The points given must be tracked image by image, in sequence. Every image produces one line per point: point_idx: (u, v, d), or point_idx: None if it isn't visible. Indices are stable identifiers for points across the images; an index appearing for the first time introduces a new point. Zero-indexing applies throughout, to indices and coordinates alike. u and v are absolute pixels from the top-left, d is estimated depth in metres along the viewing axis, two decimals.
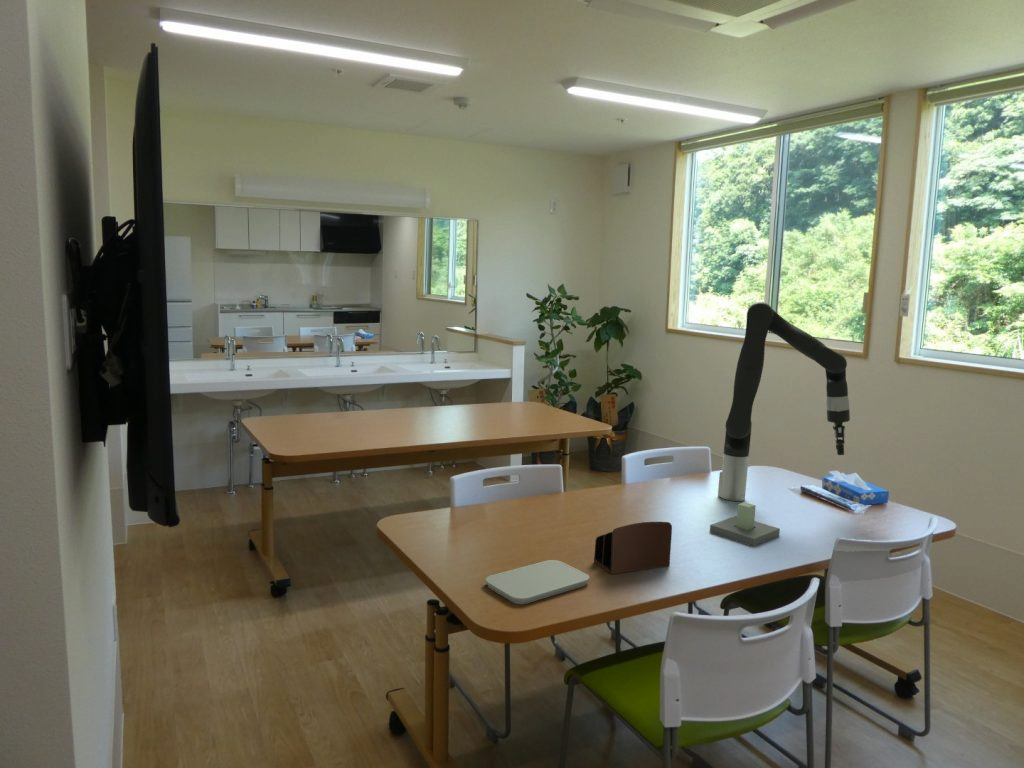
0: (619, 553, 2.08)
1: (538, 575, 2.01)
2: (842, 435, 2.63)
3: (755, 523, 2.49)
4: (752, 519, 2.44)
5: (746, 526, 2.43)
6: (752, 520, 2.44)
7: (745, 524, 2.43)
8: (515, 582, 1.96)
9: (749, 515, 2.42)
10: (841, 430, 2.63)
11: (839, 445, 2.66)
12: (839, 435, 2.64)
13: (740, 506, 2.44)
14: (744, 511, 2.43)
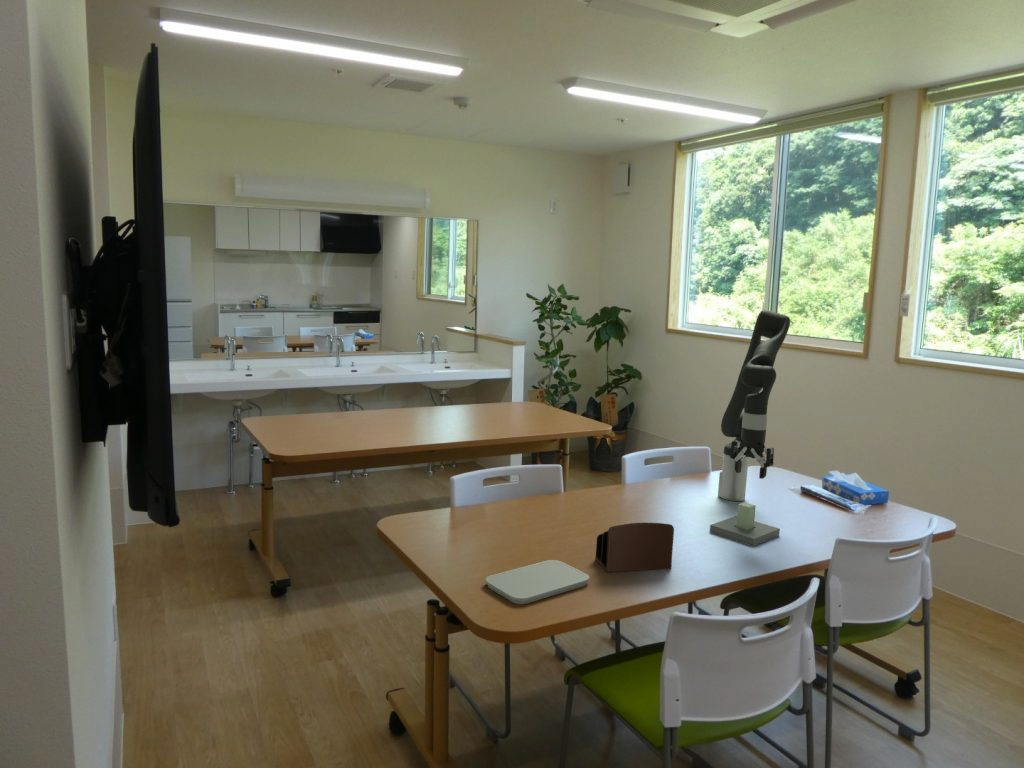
0: (615, 551, 2.09)
1: (538, 575, 2.01)
2: None
3: (755, 523, 2.49)
4: (752, 519, 2.44)
5: (746, 526, 2.43)
6: (752, 520, 2.44)
7: (745, 524, 2.43)
8: (515, 582, 1.96)
9: (749, 515, 2.42)
10: None
11: None
12: None
13: (740, 506, 2.44)
14: (744, 511, 2.43)
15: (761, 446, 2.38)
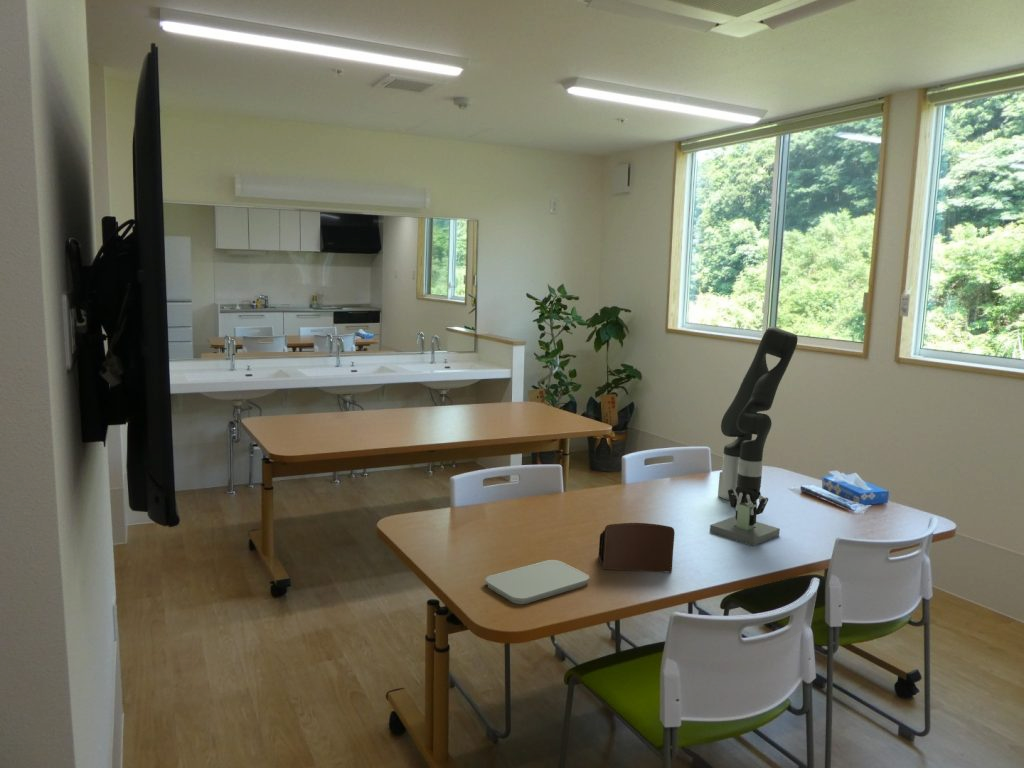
0: (612, 549, 2.11)
1: (538, 575, 2.01)
2: None
3: (755, 523, 2.49)
4: None
5: (746, 526, 2.43)
6: None
7: (745, 524, 2.43)
8: (515, 582, 1.96)
9: (749, 515, 2.42)
10: None
11: None
12: None
13: (740, 506, 2.44)
14: (744, 511, 2.43)
15: (757, 493, 2.40)
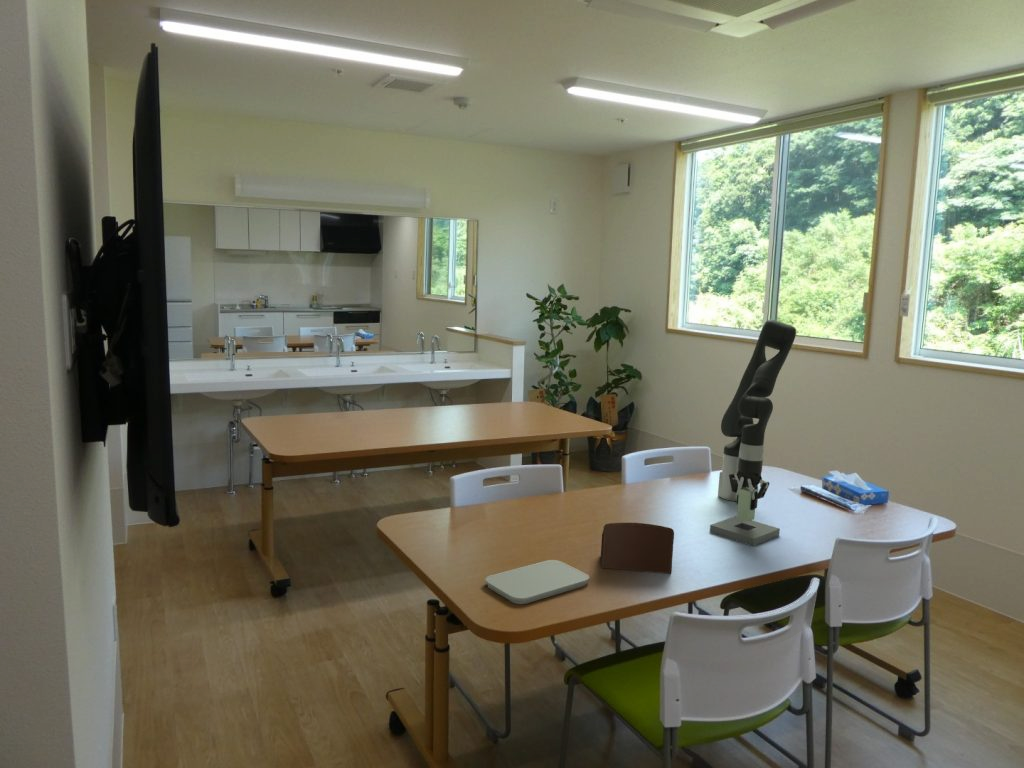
0: (610, 548, 2.11)
1: (538, 575, 2.01)
2: None
3: (755, 523, 2.49)
4: None
5: (748, 511, 2.42)
6: None
7: (747, 509, 2.42)
8: (515, 582, 1.96)
9: (750, 499, 2.42)
10: None
11: None
12: None
13: (741, 490, 2.43)
14: (745, 495, 2.42)
15: (758, 478, 2.40)
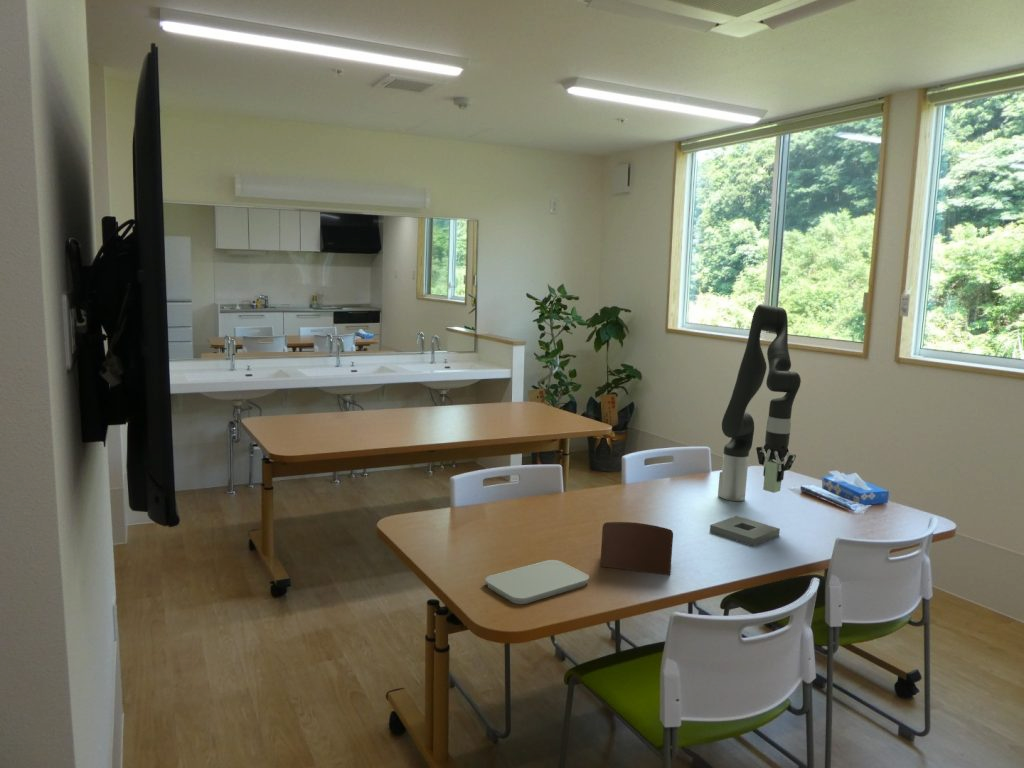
0: (609, 547, 2.12)
1: (538, 575, 2.01)
2: None
3: (755, 523, 2.49)
4: None
5: (774, 482, 2.49)
6: None
7: (773, 480, 2.49)
8: (515, 582, 1.96)
9: (776, 471, 2.48)
10: None
11: None
12: None
13: (768, 462, 2.50)
14: (771, 467, 2.49)
15: (785, 450, 2.46)
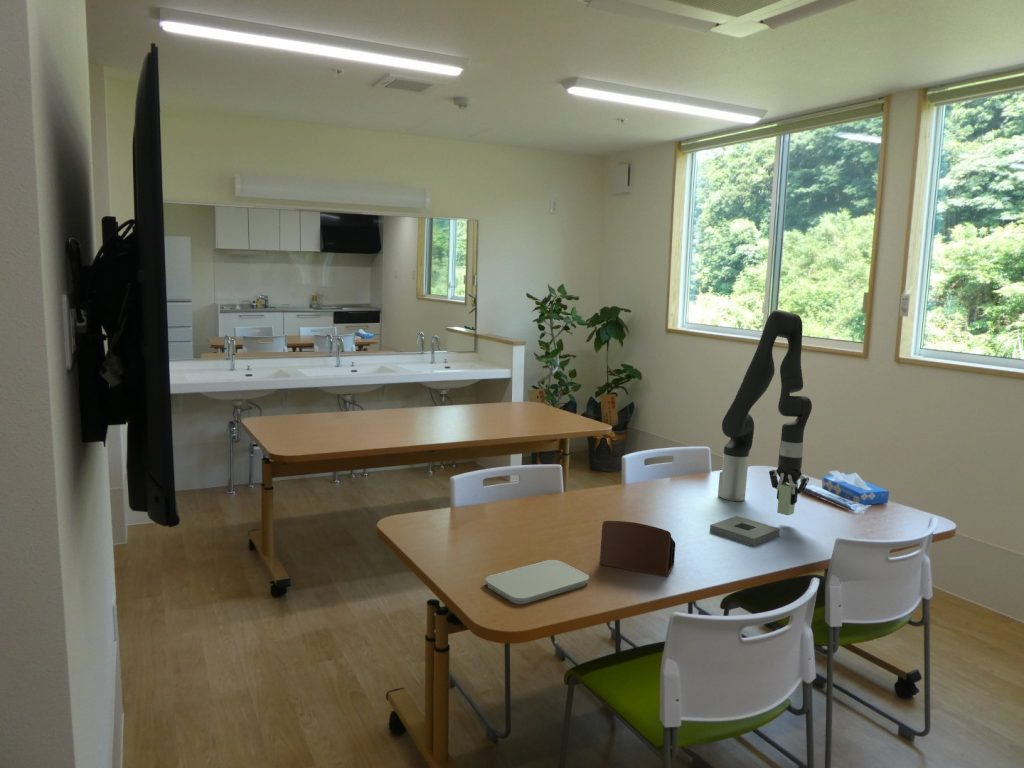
0: (608, 545, 2.13)
1: (538, 575, 2.01)
2: None
3: (755, 523, 2.49)
4: None
5: (788, 505, 2.53)
6: None
7: (787, 503, 2.53)
8: (515, 582, 1.96)
9: (790, 494, 2.53)
10: None
11: None
12: None
13: (781, 486, 2.54)
14: (785, 490, 2.54)
15: (798, 473, 2.51)
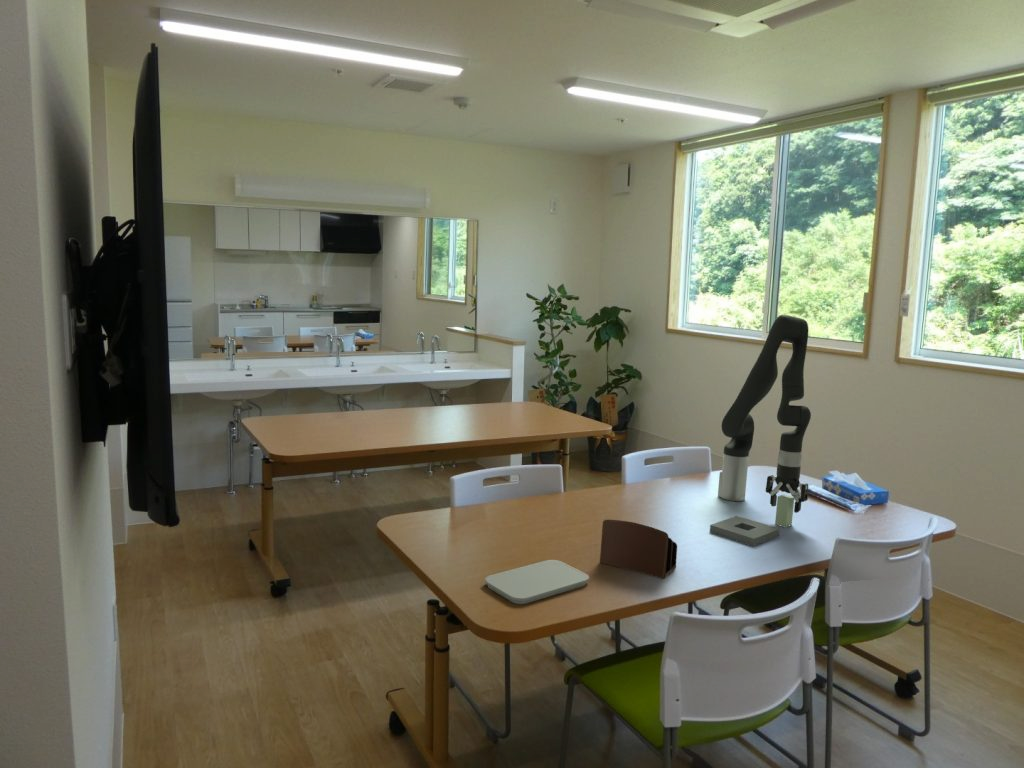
0: (608, 544, 2.14)
1: (538, 575, 2.01)
2: None
3: (755, 523, 2.49)
4: (791, 510, 2.55)
5: (786, 517, 2.54)
6: (791, 511, 2.55)
7: (785, 515, 2.54)
8: (514, 582, 1.96)
9: (788, 506, 2.53)
10: None
11: None
12: None
13: (779, 498, 2.55)
14: (783, 502, 2.54)
15: (796, 482, 2.51)
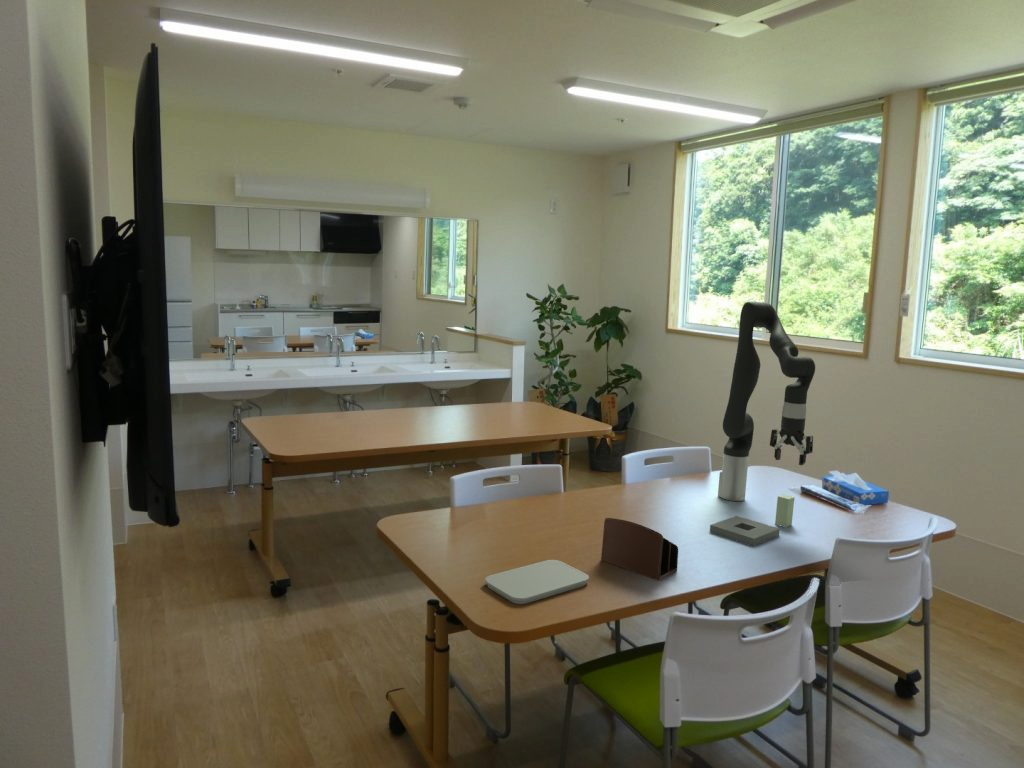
0: (608, 542, 2.16)
1: (538, 575, 2.01)
2: None
3: (755, 523, 2.49)
4: (791, 510, 2.55)
5: (786, 517, 2.54)
6: (791, 511, 2.55)
7: (785, 515, 2.54)
8: (514, 582, 1.96)
9: (788, 506, 2.53)
10: None
11: None
12: None
13: (779, 498, 2.55)
14: (783, 502, 2.54)
15: (801, 434, 2.49)
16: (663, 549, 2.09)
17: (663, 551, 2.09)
